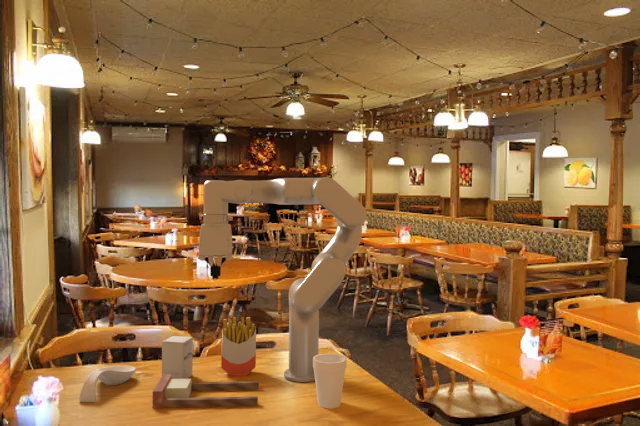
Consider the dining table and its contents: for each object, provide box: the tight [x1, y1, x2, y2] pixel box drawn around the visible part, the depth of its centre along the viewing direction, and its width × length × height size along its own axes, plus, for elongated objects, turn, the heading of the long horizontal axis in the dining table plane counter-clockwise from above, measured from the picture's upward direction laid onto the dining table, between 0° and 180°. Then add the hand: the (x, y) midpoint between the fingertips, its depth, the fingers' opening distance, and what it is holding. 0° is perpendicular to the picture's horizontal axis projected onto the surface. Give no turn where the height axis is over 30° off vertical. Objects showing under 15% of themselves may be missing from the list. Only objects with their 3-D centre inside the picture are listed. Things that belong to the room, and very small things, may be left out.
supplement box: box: [161, 335, 194, 379], centre depth 174 cm, size 7×7×13 cm
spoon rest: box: [79, 365, 137, 403], centre depth 165 cm, size 24×12×7 cm, turn 176°
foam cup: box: [313, 352, 348, 409], centre depth 153 cm, size 10×9×13 cm
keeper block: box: [165, 378, 192, 398], centre depth 159 cm, size 6×8×4 cm
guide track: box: [152, 374, 260, 409], centre depth 158 cm, size 28×14×4 cm, turn 95°
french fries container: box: [220, 316, 257, 376], centre depth 179 cm, size 5×11×18 cm, turn 94°
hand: (215, 278), depth 172 cm, fingers closed
